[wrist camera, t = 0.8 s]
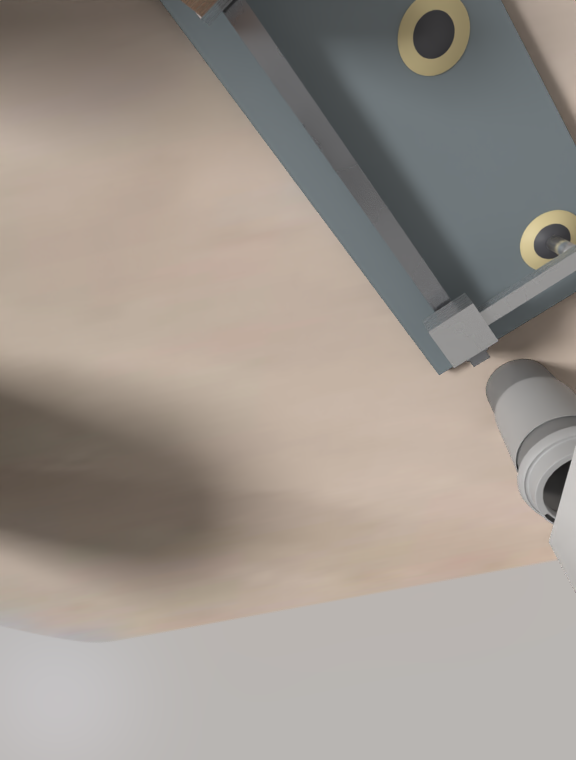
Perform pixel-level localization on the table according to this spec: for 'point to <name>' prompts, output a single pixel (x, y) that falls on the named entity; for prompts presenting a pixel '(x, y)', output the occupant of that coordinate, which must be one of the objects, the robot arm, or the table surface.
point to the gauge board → (416, 140)
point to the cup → (535, 430)
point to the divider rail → (451, 318)
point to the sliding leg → (207, 8)
